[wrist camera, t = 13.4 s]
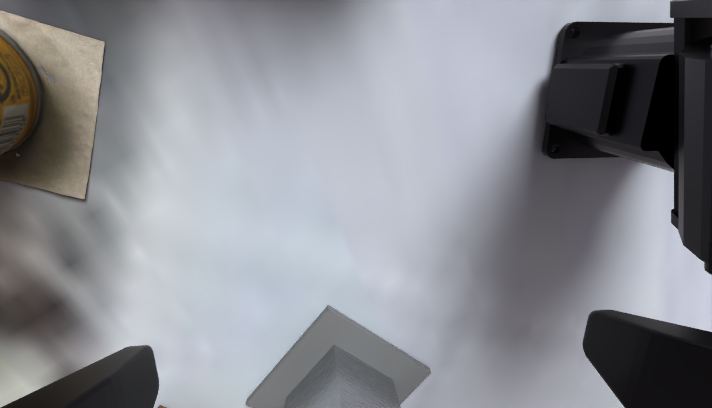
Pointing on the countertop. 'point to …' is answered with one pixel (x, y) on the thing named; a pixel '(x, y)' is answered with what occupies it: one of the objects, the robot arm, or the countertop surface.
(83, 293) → the countertop surface
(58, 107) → the condiment
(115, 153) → the countertop surface
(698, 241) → the robot arm
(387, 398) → the brushed metal block
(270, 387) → the pad
